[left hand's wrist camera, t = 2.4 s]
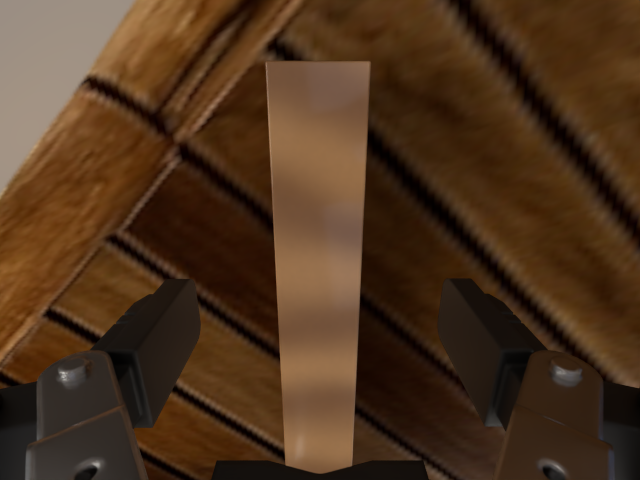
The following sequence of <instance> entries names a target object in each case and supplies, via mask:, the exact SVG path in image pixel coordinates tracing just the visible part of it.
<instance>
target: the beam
mask: <svg viewBox="0 0 640 480" xmlns="http://www.w3.org/2000/svg"><path fill="white" fill-rule="evenodd" d="M265 64H266V84H267V104H268V124H269V144H270V164H271V184H272V204H273V224H274V244H275V264H276V284H277V304H278V324H279V344H280V364H281V384H282V404H283V424H284V444H285V464H286V466H290V467H294V468H298V469H301V470H305V471H309V472H313V473H318V474H322V473H327V472H331V471H335V470H339V469H342V468H346V467H350V466H352V457H353V436H354V414H355V393H356V371H357V350H358V329H359V307H360V286H361V264H362V243H363V221H364V200H365V179H366V157H367V136H368V114H369V93H370V71H371V62H370V61H266V63H265Z"/></svg>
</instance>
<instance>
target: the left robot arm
mask: <svg viewBox="0 0 640 480" xmlns="http://www.w3.org/2000/svg"><path fill="white" fill-rule="evenodd" d="M438 333H439V337H440V340H441V342H442V344H443V346H444V348H445V350H446V352H447V354H448V356H449V358H450V360H451V362H452V364H453V365H454V367H455V369H456V371H457V373H458V375H459V377H460V379H461V381H462V383H463V385H464V387H465V389H466V391H467V393H468V395H469V397H470V398H471V400H472V402H473V404H474V406H475V408H476V410H477V412H478V414H479V416H480V418H481V420H482V422H483V424H484V426H503V428H504V429H505V431H506V434H505V437H504V441H503V444H502V447H501V450H500V454H499V457H498V460H497V464H496V467H495V470H494V474H493V477H492V480H640V388H634V387H630V386H625V385H620V384H615V383H611V382H606V381H603V380H602V378H601V376H600V375H599V374H598V373H597V372H596V371H595V370H594V369H593V368H592V367H591V366H590V365H588V364H587V363H585V362H583V361H581V360H580V359H578V358H576V357H573V356H571V355H568V354H565V353H562V352H557V351H551V350H548V349H547V348H546V347H545V346H544V345H543V344H542V343H541V342H540V341H539V340H538V339H537V338H536V337H535V336H534V335H533V333H532V332H531V331H530V330H529V329H528V328H527V327H526V326H525V325H524V324H523V323H521V321H520V320H519V318H518V317H517V316H516V315H513V312H512V311H511V310H510V309H509V308H508V307H507V306H506V305H505V304H504V302H502V301H500V300H498V299H497V298H495V297H493V296H492V295H490V294H484V293H483V291H482V290H481V289H480V288H479V287H478V286H477V285H476V283H475V282H474V281H473V280H472V279H445V281H444V283H443V288H442V295H441V302H440V309H439V316H438ZM199 335H200V315H199V308H198V301H197V294H196V287H195V283H194V281H193V280H192V279H167V280H166V281H165V282H164V283H163V284H162V285H161V286H160V287H159V288H158V289H157V291H156V292H155V293H154V294H149V295H147V296H146V297H144V298H142V299H140V300H139V301H137V302H135V303H134V304H133V305H132V306H131V307H130V308H129V309H128V310H127V311H126V312H125V315H123V316H122V317H121V318H120V319H119V320H118V321H117V322H116V324H114V325H113V326H112V327H111V328H110V329H109V330H108V331H107V332H106V334H105V335H104V336H103V337H102V338H101V339H100V340H99V341H98V342H97V343H96V344H95V345H94V346H93V347H92V348H91V349H90V350H89V351H83V352H78V353H75V354H72V355H69V356H67V357H64V358H62V359H60V360H59V361H57V362H55V363H53V364H52V365H50V366H49V367H48V368H47V369H46V370H45V371H44V372H43V373H42V374H41V375H40V376H39V378H38V380H37V381H36V382H32V383H27V384H22V385H18V386H13V387H8V388H3V389H0V480H148V477H147V474H146V470H145V467H144V464H143V460H142V457H141V454H140V450H139V447H138V444H137V441H136V437H135V434H134V431H133V429H134V428H152V427H153V426H154V424H155V422H156V420H157V418H158V416H159V414H160V412H161V410H162V408H163V406H164V404H165V403H166V401H167V399H168V397H169V395H170V393H171V391H172V389H173V387H174V385H175V383H176V381H177V380H178V378H179V376H180V374H181V372H182V370H183V368H184V366H185V364H186V362H187V360H188V358H189V357H190V355H191V353H192V351H193V349H194V347H195V345H196V343H197V341H198V339H199ZM211 480H429V479H428V475H427V472H426V469H425V465H424V462H423V461H369V462H365V463H361V464H358V465H354V466H350V467H346V468H342V469H339V470H335V471H331V472H327V473H322V474H318V473H313V472H309V471H305V470H301V469H298V468H294V467H290V466H286V465H282V464H279V463H275V462H271V461H217V462H216V465H215V469H214V472H213V475H212V479H211Z"/></svg>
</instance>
